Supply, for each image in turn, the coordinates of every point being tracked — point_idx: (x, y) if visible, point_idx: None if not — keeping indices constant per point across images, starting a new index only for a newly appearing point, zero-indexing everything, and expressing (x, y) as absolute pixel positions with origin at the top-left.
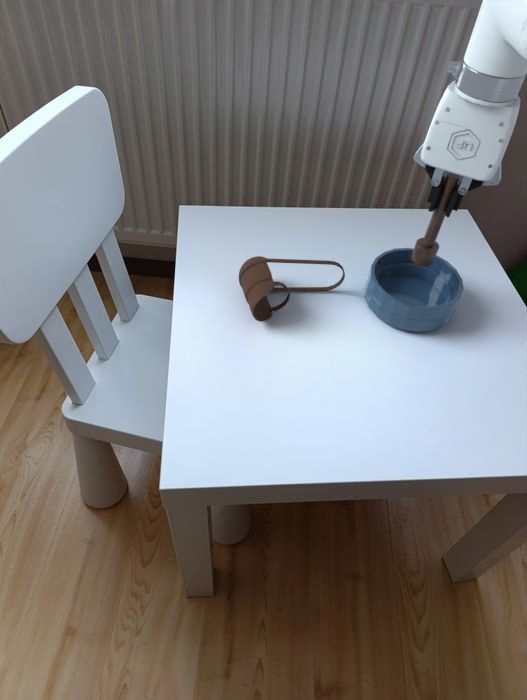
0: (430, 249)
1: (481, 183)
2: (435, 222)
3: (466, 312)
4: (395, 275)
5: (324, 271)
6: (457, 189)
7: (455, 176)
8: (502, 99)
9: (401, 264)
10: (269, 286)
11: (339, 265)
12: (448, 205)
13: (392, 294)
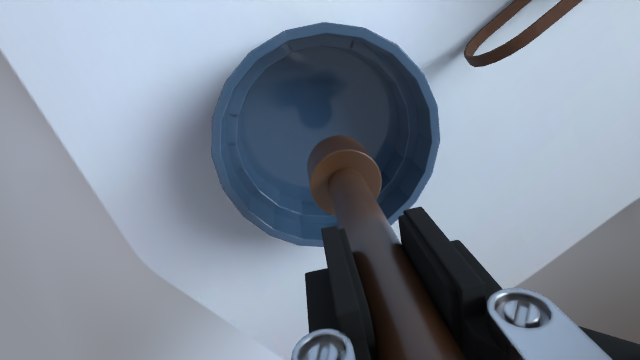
0: (328, 168)
1: None
2: (362, 208)
3: (215, 187)
4: None
5: (505, 92)
6: (361, 352)
7: None
8: None
9: (380, 192)
10: None
11: (506, 48)
12: (352, 256)
13: (355, 121)
